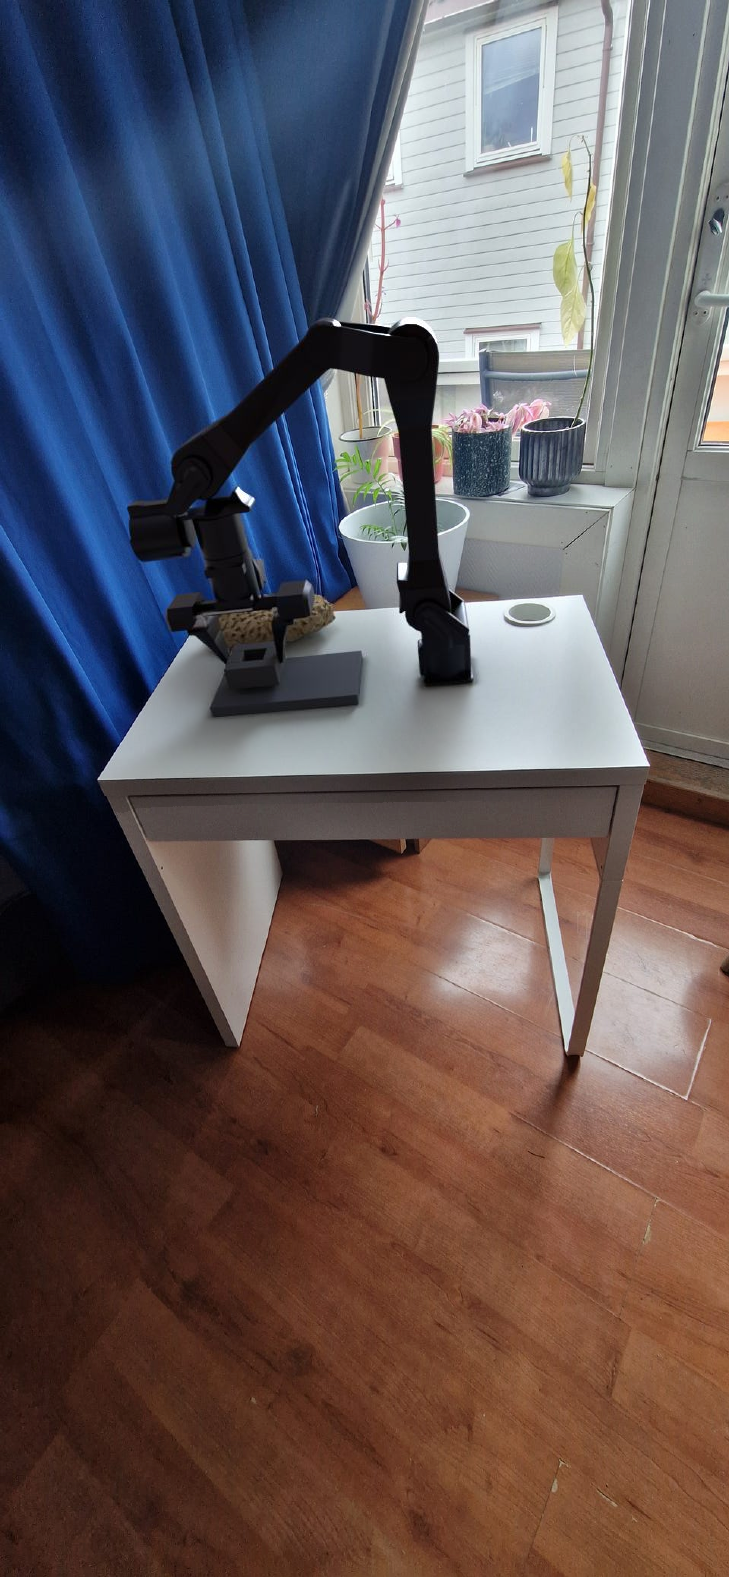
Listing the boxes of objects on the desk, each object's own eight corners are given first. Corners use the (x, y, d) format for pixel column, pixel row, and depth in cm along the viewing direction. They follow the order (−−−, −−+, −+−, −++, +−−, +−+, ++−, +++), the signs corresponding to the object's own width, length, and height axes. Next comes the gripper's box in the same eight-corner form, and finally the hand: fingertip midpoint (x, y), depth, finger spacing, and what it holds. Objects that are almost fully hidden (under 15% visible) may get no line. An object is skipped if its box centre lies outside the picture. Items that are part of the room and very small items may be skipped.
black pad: (286, 659, 93) (282, 640, 91) (279, 684, 87) (274, 665, 85) (239, 663, 93) (233, 645, 92) (229, 689, 88) (223, 670, 86)
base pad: (362, 659, 95) (359, 634, 92) (358, 704, 86) (354, 678, 83) (230, 672, 97) (223, 648, 95) (212, 717, 88) (204, 692, 86)
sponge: (204, 666, 103) (313, 646, 94) (185, 617, 99) (296, 592, 91) (245, 640, 113) (347, 620, 104) (230, 596, 110) (333, 571, 101)
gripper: (308, 520, 85) (328, 630, 94) (171, 537, 87) (205, 643, 97) (297, 551, 76) (320, 669, 86) (145, 569, 78) (185, 682, 88)
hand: (256, 664), depth 89 cm, fingers closed on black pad, 7 cm apart
